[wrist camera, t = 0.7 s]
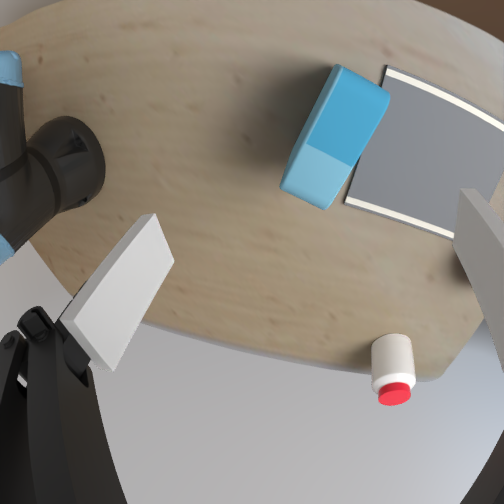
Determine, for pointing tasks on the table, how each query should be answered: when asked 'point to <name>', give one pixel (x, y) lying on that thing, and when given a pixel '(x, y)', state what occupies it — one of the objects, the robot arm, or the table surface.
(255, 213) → the table surface
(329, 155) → the light blue flat block
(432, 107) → the mat
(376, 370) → the pill bottle
